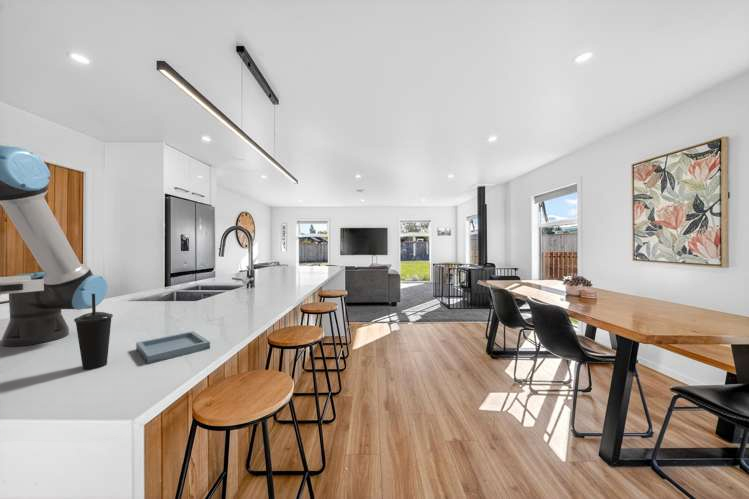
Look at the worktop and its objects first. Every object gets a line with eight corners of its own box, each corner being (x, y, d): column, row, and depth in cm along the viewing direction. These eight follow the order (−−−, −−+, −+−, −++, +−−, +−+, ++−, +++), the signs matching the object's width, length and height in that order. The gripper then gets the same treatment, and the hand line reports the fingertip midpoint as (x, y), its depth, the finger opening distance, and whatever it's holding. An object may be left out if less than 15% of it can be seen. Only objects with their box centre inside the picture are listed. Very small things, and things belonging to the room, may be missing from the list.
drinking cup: (90, 373, 76) (88, 297, 75) (67, 370, 77) (65, 295, 77) (121, 361, 83) (119, 291, 83) (99, 359, 85) (98, 290, 84)
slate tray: (136, 349, 92) (136, 342, 92) (193, 337, 104) (193, 331, 104) (148, 364, 82) (147, 356, 82) (210, 348, 94) (209, 341, 94)
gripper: (-126, 306, 63) (26, 292, 81) (-134, 324, 50) (49, 302, 68) (-127, 271, 63) (25, 265, 81) (-136, 280, 50) (49, 270, 68)
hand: (37, 282), depth 74 cm, fingers open, 13 cm apart
